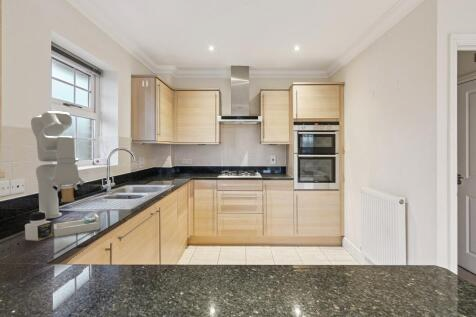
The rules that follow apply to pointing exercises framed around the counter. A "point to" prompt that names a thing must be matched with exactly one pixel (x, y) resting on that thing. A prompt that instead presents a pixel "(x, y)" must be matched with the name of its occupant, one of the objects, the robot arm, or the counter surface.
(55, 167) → the robot arm
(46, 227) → the medicine bottle
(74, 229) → the lane
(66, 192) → the jar
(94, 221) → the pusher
